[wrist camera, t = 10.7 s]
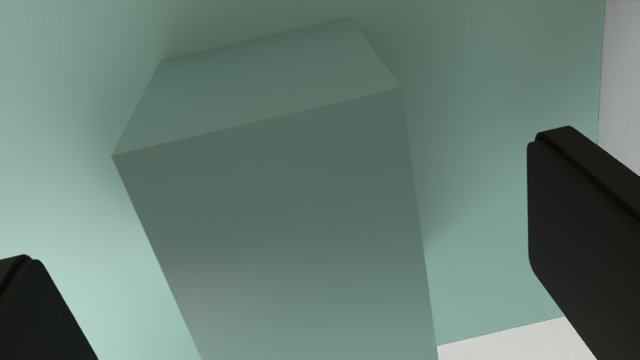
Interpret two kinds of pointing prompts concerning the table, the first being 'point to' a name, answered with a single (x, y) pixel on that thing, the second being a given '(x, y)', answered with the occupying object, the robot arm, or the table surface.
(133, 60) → the lid
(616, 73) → the table surface
